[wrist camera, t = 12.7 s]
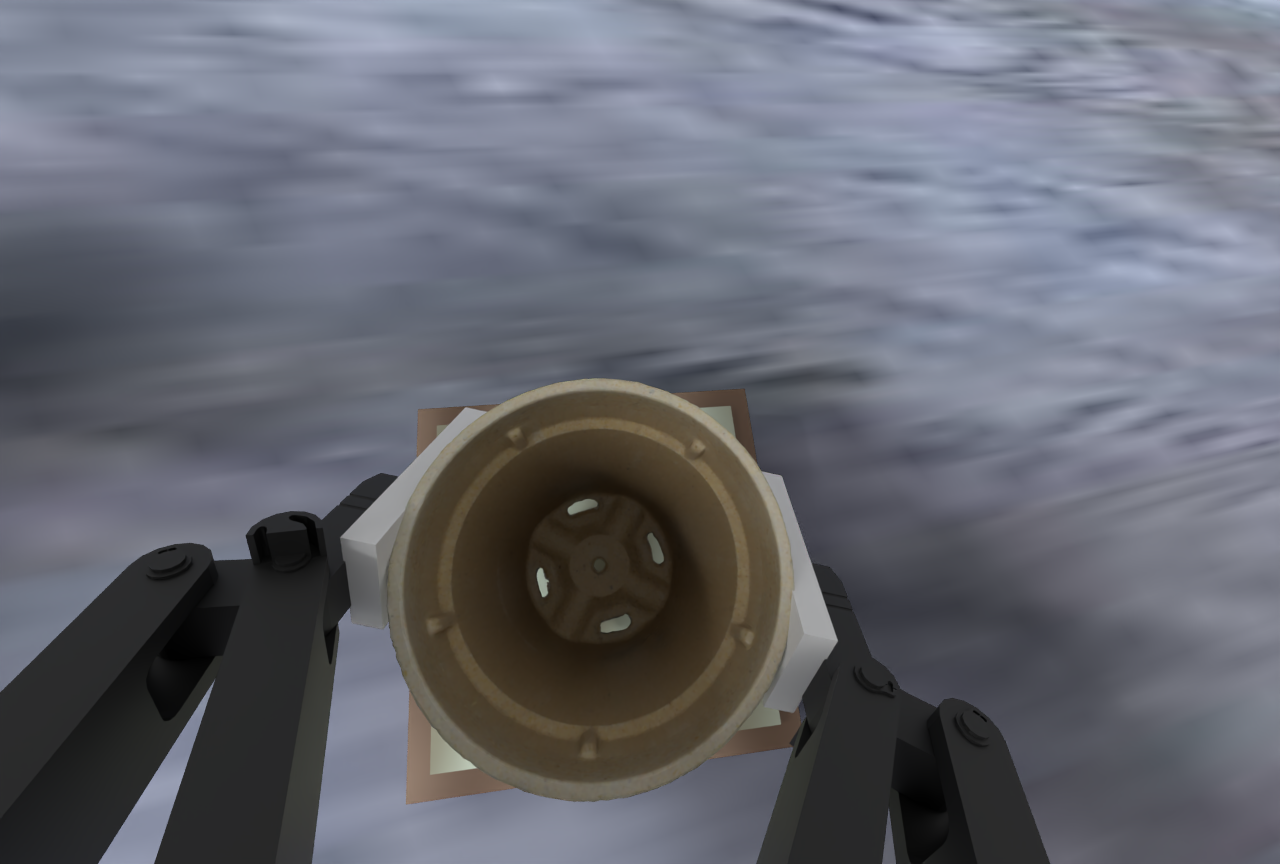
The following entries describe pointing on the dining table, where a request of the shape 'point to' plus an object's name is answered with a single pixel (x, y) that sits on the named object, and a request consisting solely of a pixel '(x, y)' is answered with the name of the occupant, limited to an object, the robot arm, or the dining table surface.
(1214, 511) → the dining table surface
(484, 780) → the brown flat square box
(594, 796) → the flower pot
